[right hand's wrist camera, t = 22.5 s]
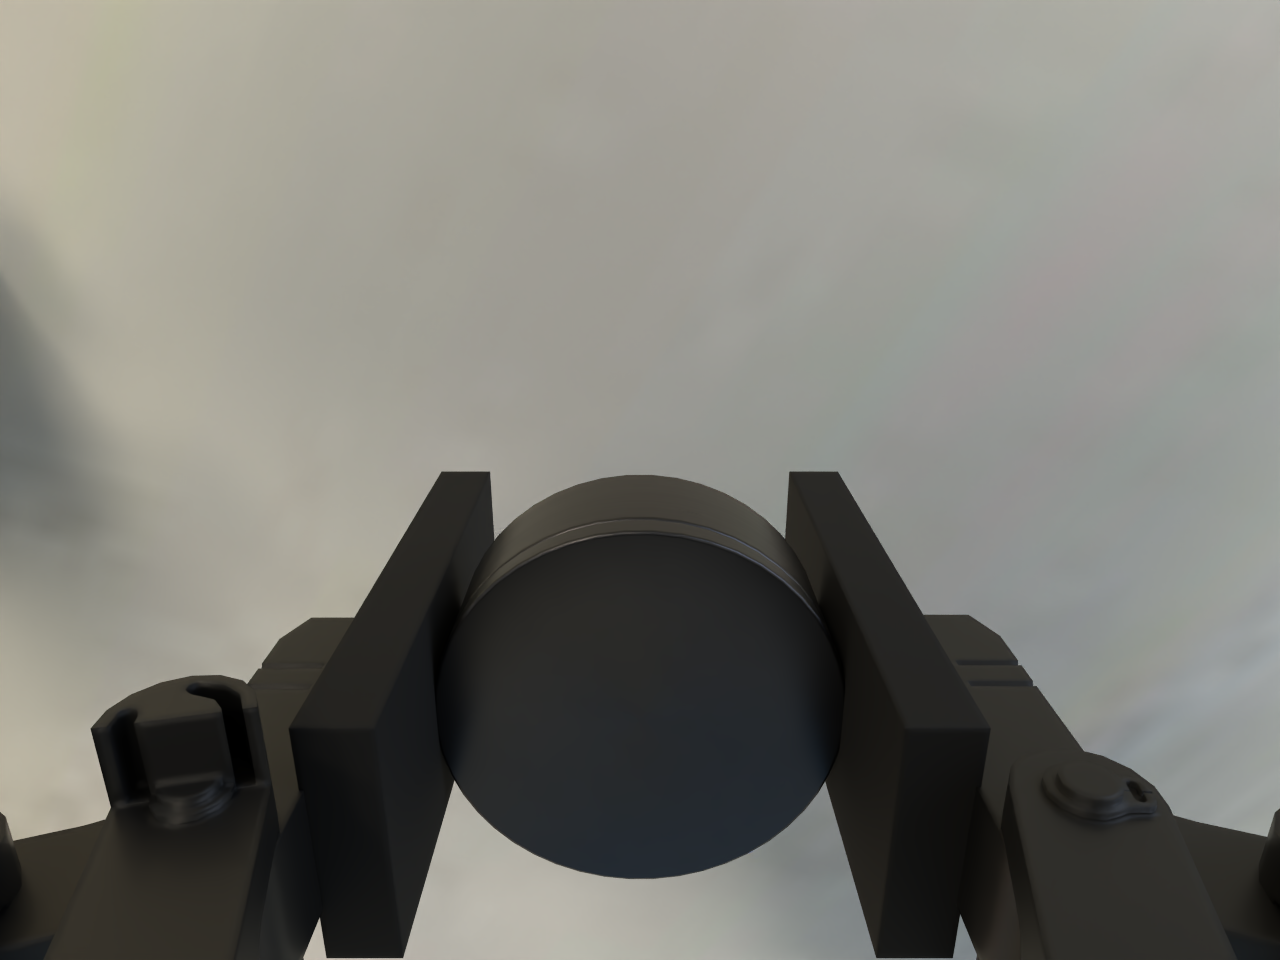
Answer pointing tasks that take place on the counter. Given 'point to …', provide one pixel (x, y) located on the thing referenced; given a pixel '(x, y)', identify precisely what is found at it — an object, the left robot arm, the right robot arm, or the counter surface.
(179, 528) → the counter surface
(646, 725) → the lid
